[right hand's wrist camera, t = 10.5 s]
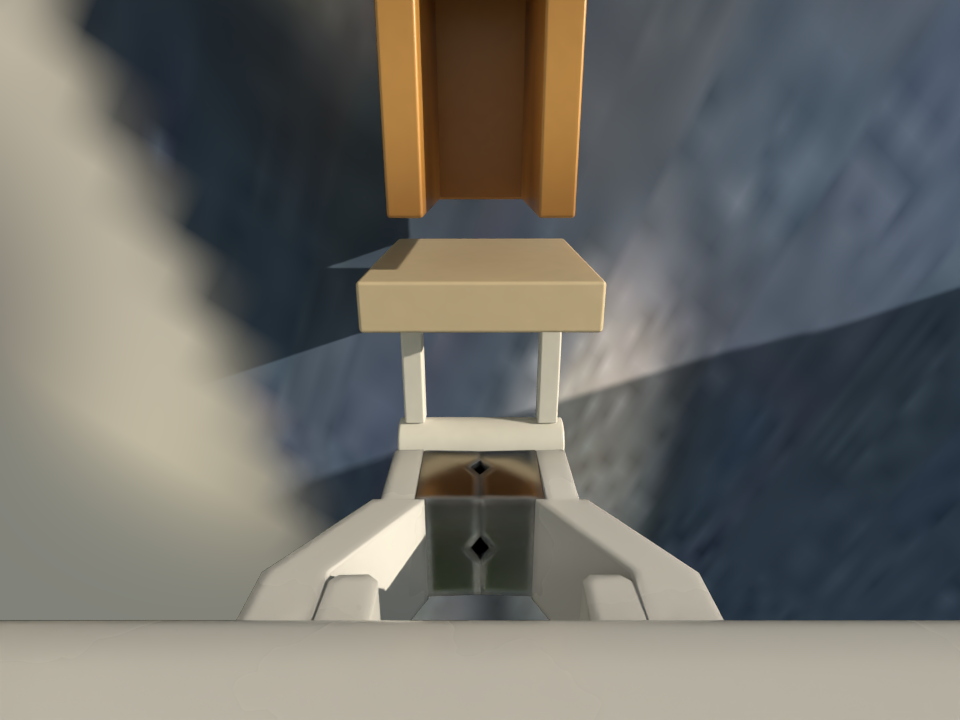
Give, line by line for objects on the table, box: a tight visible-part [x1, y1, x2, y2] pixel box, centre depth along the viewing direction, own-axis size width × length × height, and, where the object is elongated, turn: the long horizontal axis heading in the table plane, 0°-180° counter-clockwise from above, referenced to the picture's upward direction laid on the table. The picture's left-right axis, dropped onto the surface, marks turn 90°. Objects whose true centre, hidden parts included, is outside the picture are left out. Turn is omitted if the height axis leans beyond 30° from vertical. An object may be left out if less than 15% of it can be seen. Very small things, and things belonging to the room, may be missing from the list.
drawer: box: [356, 0, 606, 451], centre depth 14 cm, size 24×6×7 cm, turn 0°
